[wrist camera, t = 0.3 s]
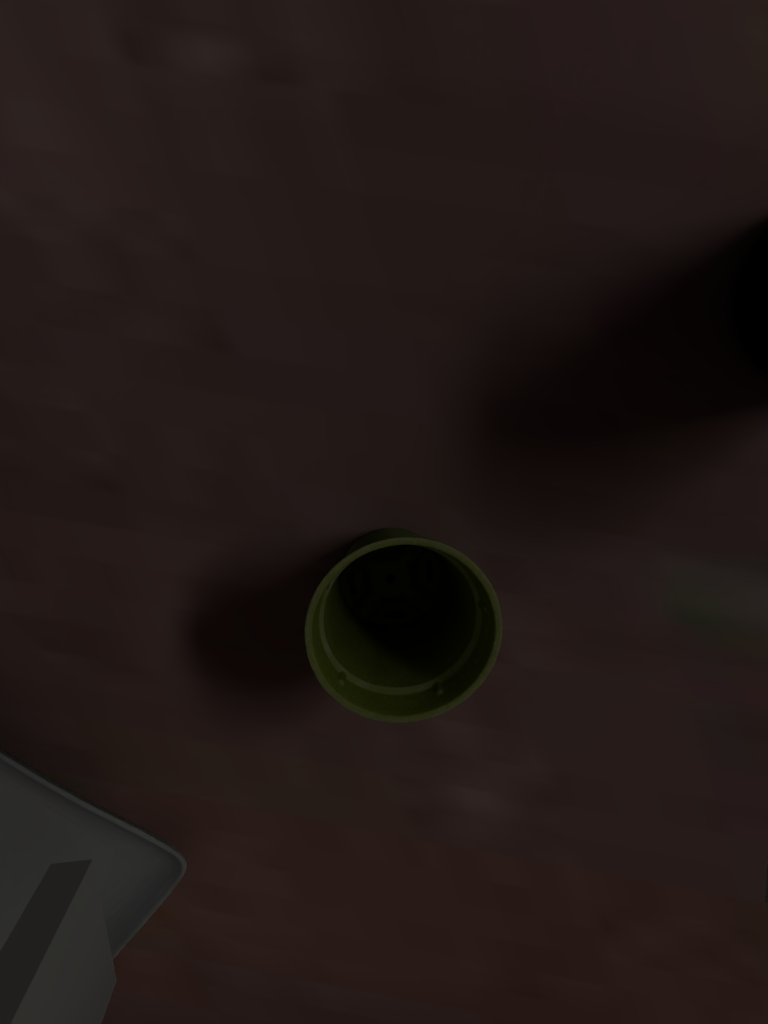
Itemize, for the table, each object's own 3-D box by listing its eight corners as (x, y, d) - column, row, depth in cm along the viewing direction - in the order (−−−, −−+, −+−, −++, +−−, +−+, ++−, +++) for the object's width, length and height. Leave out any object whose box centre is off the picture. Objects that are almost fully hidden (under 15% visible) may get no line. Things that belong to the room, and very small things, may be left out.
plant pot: (478, 634, 41) (515, 703, 33) (328, 663, 41) (325, 740, 32) (455, 487, 39) (487, 520, 31) (297, 517, 39) (285, 558, 30)
